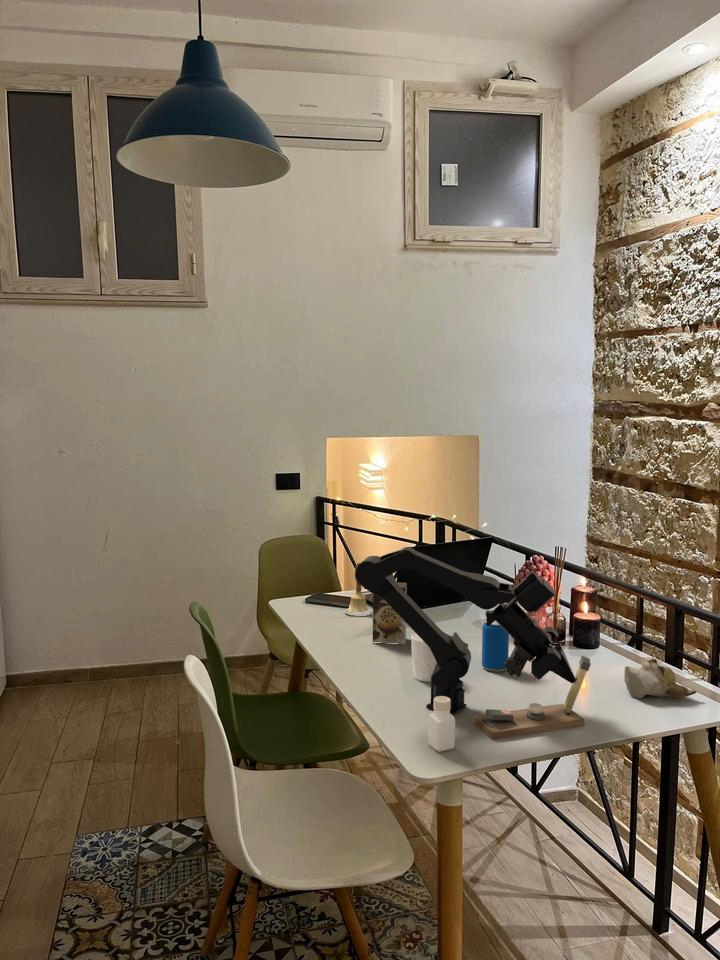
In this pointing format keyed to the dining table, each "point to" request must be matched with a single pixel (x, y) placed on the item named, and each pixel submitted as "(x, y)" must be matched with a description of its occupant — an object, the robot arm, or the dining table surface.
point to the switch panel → (529, 722)
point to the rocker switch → (499, 714)
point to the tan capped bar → (576, 684)
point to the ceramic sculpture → (653, 681)
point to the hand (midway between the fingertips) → (574, 681)
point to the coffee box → (388, 621)
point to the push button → (535, 708)
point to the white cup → (422, 659)
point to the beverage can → (494, 647)
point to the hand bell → (358, 600)
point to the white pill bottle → (441, 725)
